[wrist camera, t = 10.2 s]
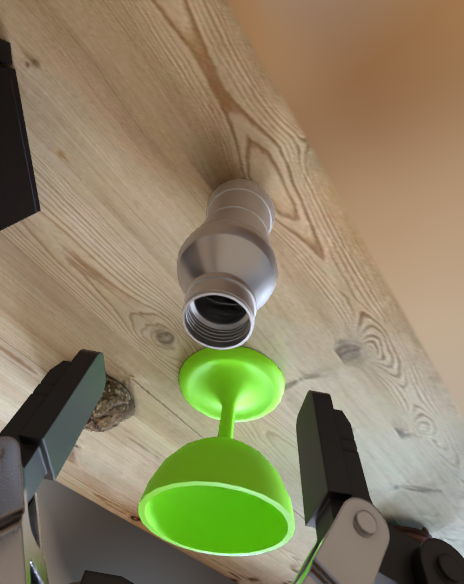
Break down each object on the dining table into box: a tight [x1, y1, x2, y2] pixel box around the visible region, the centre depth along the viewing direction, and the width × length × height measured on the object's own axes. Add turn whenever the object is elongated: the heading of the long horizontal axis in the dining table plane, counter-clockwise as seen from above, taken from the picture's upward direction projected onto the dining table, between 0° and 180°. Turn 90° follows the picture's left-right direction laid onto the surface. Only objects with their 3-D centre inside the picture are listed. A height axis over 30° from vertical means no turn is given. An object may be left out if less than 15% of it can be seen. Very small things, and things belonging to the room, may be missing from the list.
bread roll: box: [83, 375, 135, 432], centre depth 49 cm, size 13×12×5 cm
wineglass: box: [138, 346, 295, 556], centre depth 39 cm, size 16×16×18 cm
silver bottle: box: [177, 179, 278, 350], centre depth 24 cm, size 6×7×20 cm
